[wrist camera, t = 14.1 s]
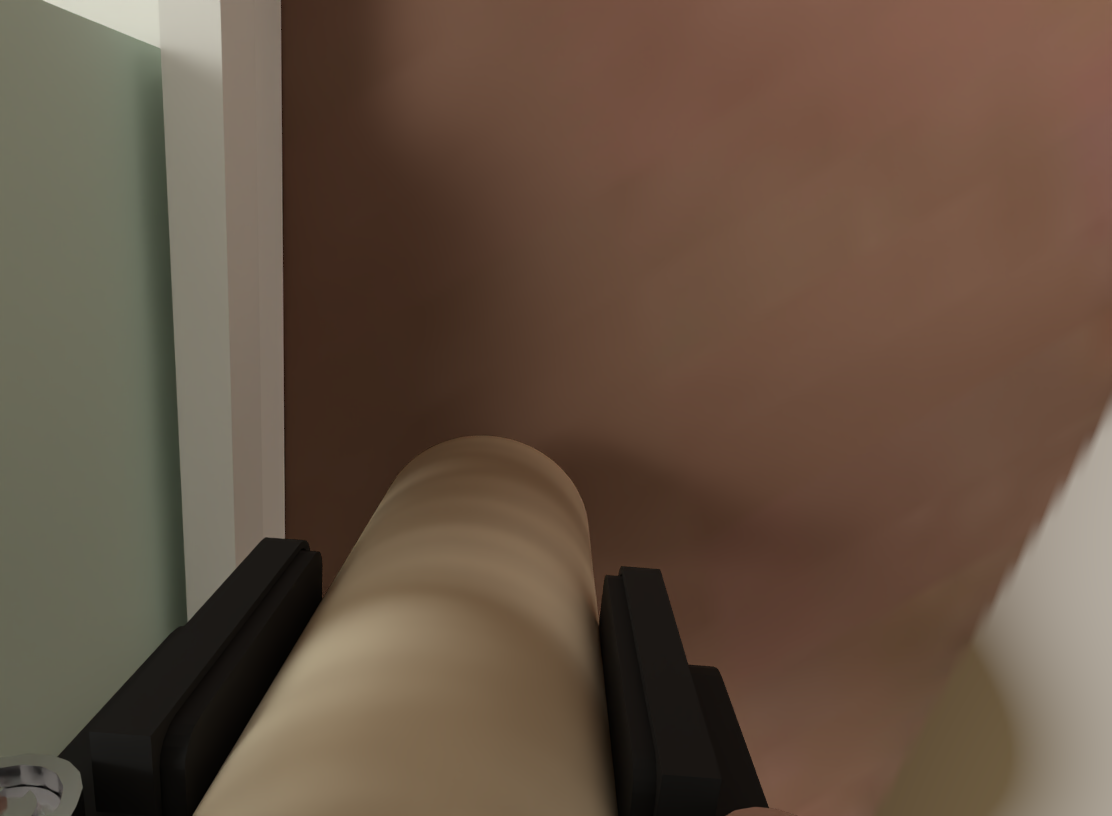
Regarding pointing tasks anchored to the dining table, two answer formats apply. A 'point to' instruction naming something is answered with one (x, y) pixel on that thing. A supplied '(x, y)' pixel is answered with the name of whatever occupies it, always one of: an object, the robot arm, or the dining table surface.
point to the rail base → (221, 265)
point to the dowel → (443, 659)
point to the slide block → (83, 374)
